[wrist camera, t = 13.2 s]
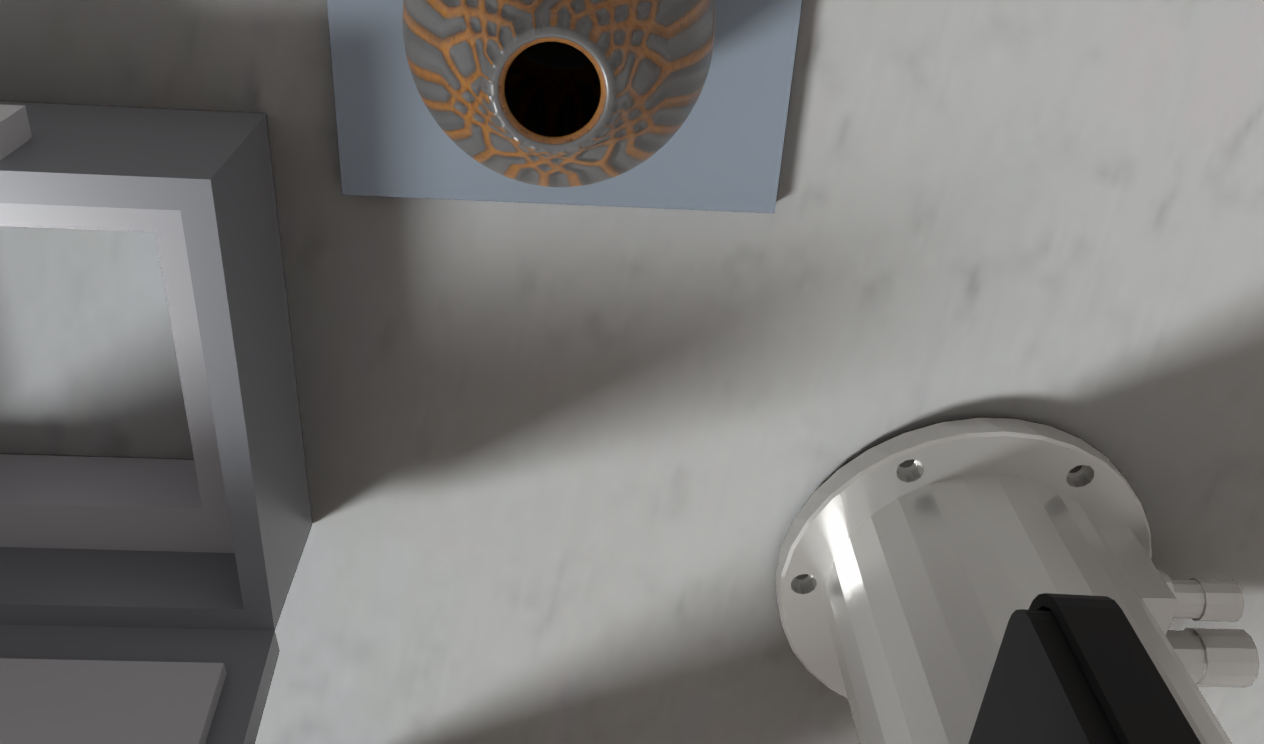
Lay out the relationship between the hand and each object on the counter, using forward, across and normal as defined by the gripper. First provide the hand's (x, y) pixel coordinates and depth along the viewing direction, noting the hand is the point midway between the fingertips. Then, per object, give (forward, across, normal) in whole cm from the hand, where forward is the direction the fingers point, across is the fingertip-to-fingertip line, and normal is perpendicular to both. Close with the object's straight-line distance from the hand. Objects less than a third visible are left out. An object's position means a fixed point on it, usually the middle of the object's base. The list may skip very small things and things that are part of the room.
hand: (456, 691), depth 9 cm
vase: (+22, 0, -2) cm, 22 cm away
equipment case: (+23, +15, +10) cm, 29 cm away
